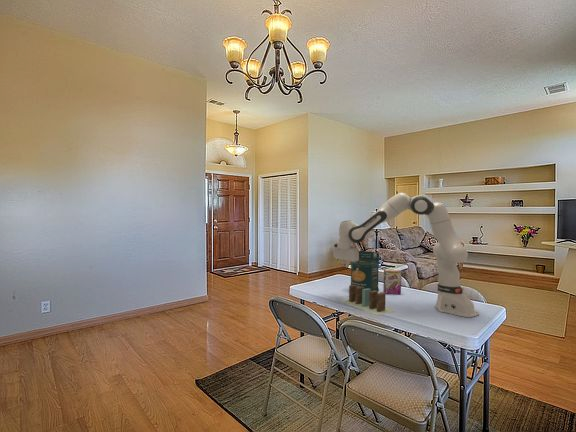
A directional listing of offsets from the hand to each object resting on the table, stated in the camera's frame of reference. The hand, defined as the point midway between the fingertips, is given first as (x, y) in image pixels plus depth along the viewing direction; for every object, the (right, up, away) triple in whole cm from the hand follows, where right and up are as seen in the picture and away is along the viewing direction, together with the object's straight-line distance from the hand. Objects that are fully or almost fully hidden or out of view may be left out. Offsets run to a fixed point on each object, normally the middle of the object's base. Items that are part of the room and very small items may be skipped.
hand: (345, 266), depth 200 cm
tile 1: (+16, -21, -24) cm, 36 cm away
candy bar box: (+35, -21, +15) cm, 44 cm away
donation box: (+16, -21, +19) cm, 33 cm away
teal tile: (+10, -21, -15) cm, 27 cm away
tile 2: (+13, -21, -19) cm, 31 cm away
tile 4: (+7, -21, -10) cm, 24 cm away
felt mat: (+10, -21, -15) cm, 28 cm away
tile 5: (+4, -21, -6) cm, 22 cm away
